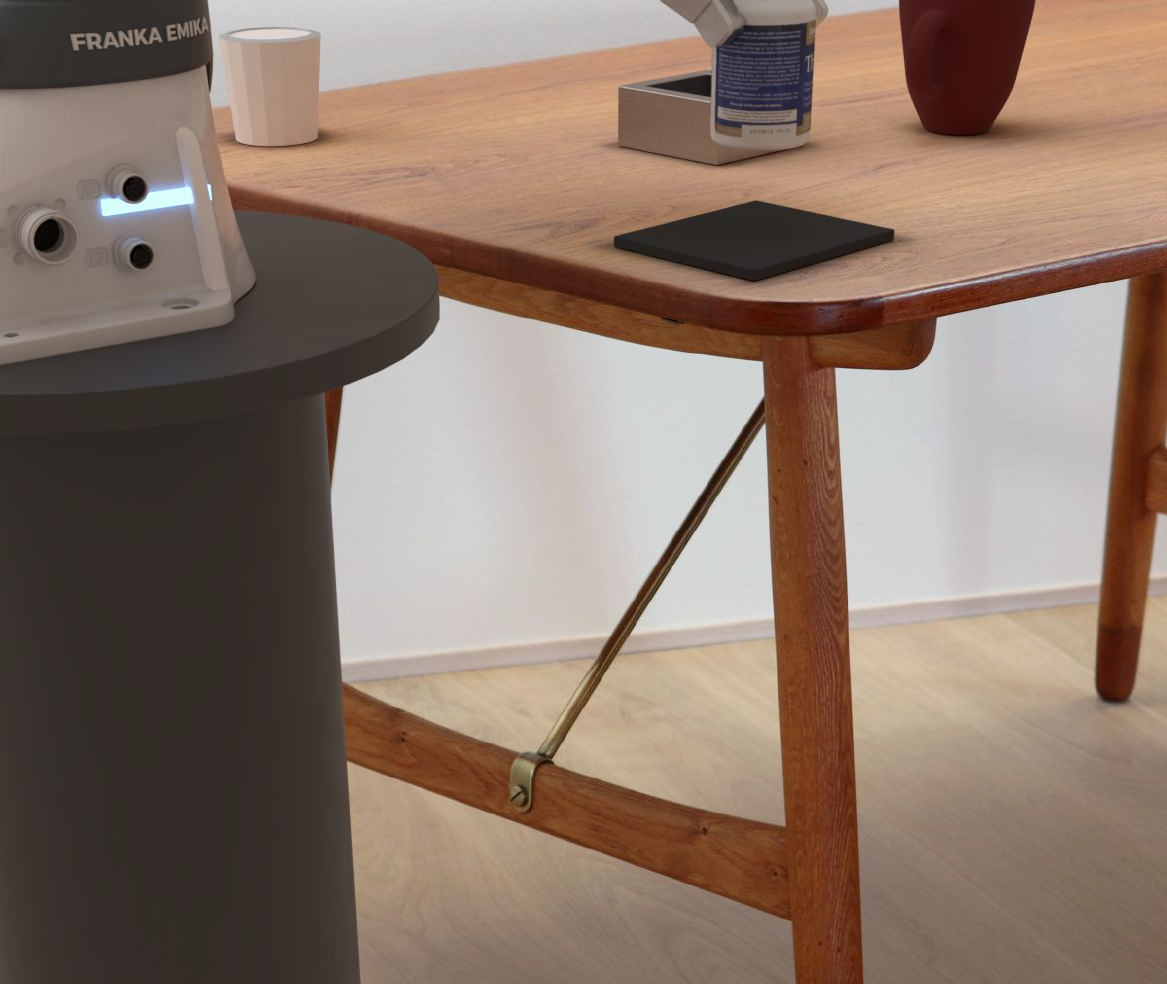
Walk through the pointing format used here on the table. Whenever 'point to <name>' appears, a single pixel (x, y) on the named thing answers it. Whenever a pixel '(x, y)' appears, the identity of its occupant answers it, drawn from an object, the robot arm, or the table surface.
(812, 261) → the mat
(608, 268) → the table surface
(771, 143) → the pill bottle
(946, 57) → the mug
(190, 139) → the robot arm
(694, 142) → the box
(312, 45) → the beige cup
